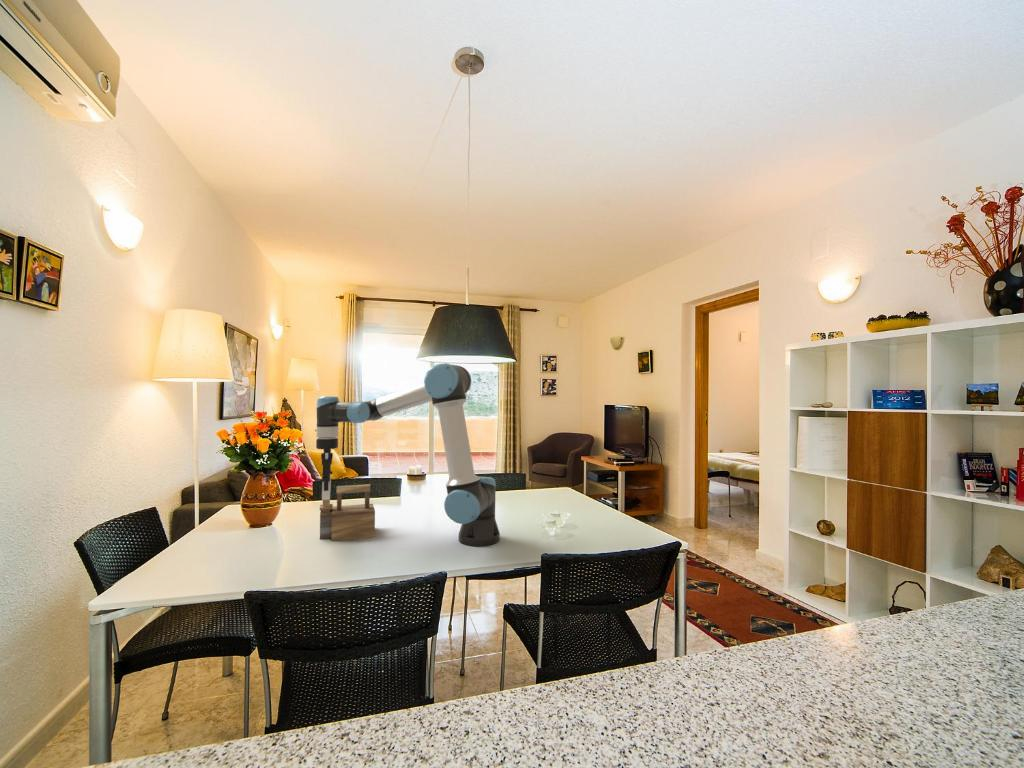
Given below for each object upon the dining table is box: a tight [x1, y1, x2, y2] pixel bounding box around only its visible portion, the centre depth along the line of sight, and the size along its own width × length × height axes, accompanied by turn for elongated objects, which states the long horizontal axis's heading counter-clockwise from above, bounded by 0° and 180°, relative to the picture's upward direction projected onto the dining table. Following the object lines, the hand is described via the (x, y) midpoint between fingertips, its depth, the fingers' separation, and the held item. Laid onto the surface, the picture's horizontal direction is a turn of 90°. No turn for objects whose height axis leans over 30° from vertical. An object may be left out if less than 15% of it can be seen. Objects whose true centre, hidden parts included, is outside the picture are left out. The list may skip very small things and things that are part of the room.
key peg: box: [319, 498, 334, 512], centre depth 173 cm, size 4×4×16 cm
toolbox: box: [319, 514, 376, 542], centre depth 176 cm, size 12×19×8 cm, turn 110°
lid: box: [319, 483, 376, 519], centre depth 176 cm, size 12×19×10 cm, turn 110°
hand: (326, 495), depth 174 cm, fingers open, 12 cm apart
